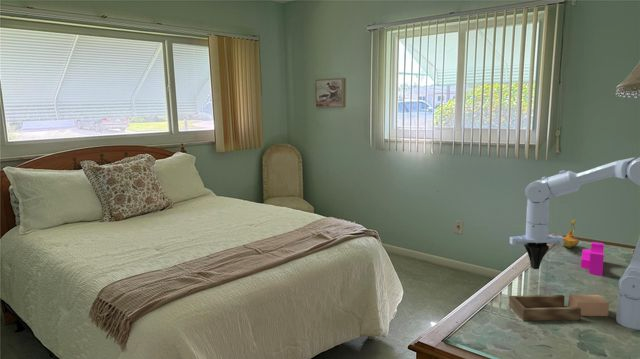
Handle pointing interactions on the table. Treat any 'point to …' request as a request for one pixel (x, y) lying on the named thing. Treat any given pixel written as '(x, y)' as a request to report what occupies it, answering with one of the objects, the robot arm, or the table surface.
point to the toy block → (593, 258)
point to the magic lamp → (570, 238)
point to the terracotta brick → (590, 304)
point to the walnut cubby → (543, 313)
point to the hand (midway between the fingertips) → (534, 268)
